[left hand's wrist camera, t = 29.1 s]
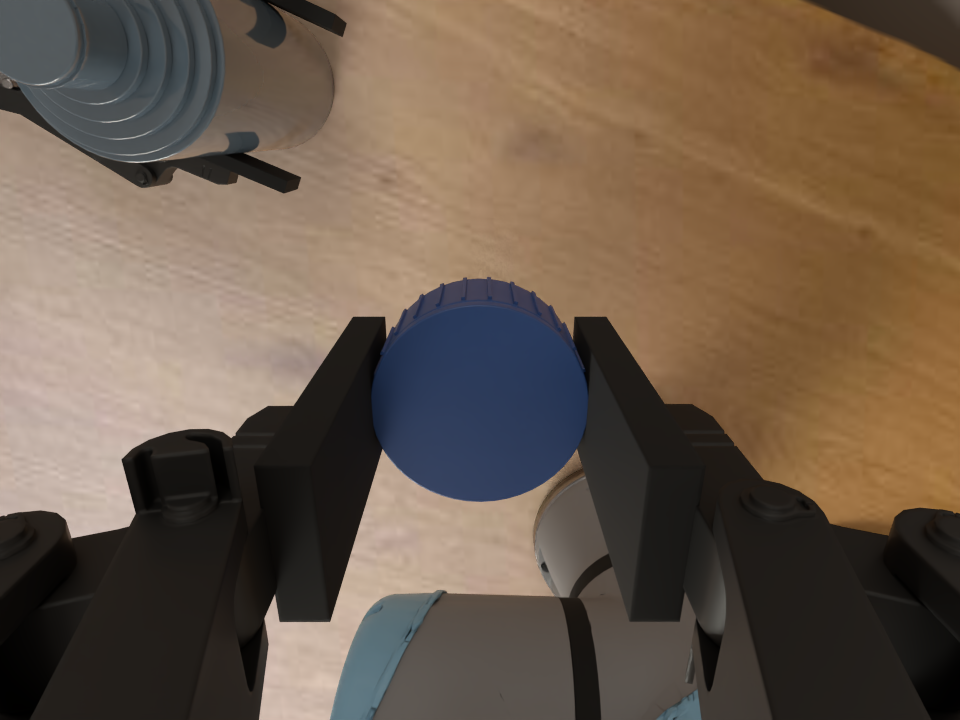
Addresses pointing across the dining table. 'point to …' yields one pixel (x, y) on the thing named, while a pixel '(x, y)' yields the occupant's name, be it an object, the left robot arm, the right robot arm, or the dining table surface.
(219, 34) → the bottle
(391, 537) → the dining table surface
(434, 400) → the cap
